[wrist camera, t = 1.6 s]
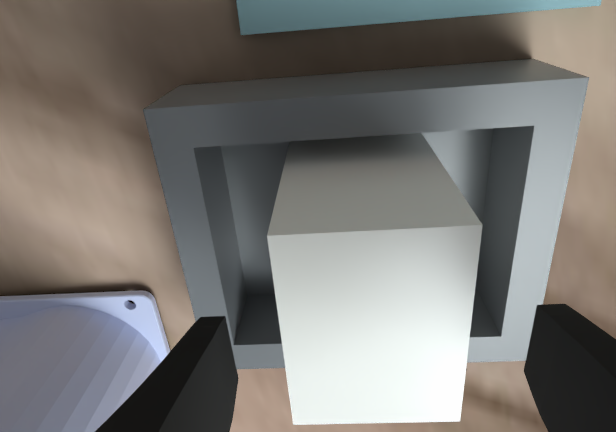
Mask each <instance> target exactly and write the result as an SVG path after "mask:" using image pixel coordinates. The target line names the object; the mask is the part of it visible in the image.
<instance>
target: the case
mask: <svg viewBox="0 0 616 432" xmlns="http://www.w3.org/2000/svg"><path fill="white" fill-rule="evenodd" d="M588 81H589V77H586V76H583V75H580V74H577V73H574V72H571V71H568V70H565V69H562V68H559V67H556V66H553V65H550V64H547V63H544V62H541V61H538V60H535V59H523V60H510V61H497V62H483V63H470V64H457V65H443V66H430V67H417V68H404V69H390V70H377V71H364V72H350V73H337V74H324V75H311V76H297V77H284V78H271V79H257V80H244V81H231V82H218V83H204V84H191V85H180V86H178V87H177V88H175V89H174V90H172V91H170V92H169V93H167V94H166V95H164V96H163V97H161V98H160V99H158V100H157V101H155V102H154V103H152V104H150V105H149V106H147V107H146V108H144V109H143V112H144V116H145V120H146V124H147V128H148V132H149V136H150V140H151V144H152V148H153V152H154V156H155V160H156V164H157V168H158V172H159V176H160V180H161V184H162V188H163V192H164V196H165V200H166V204H167V208H168V212H169V216H170V220H171V224H172V228H173V232H174V236H175V240H176V244H177V248H178V252H179V256H180V260H181V264H182V268H183V272H184V276H185V280H186V284H187V288H188V292H189V296H190V300H191V304H192V308H193V312H194V316H195V320H196V321H197V320H198V319H199V318H200V317H209V316H225V317H226V322H227V327H228V331H229V336H230V341H231V346H232V350H233V355H234V360H235V365H236V369H259V368H285V361H284V354H283V347H282V340H281V333H280V326H279V318H278V311H277V304H276V297H275V290H274V283H273V275H272V268H271V261H270V254H269V247H268V240H267V234H268V230H269V225H270V221H271V217H272V213H273V209H274V205H275V201H276V197H277V192H278V188H279V184H280V180H281V176H282V172H283V168H284V164H285V159H286V155H287V151H288V147H289V143H290V141H306V140H321V139H337V138H352V137H367V136H383V135H398V134H413V133H422V134H423V136H424V138H425V139H426V141H427V142H428V144H429V145H430V147H431V148H432V150H433V151H434V153H435V154H436V156H437V157H438V159H439V160H440V162H441V163H442V165H443V166H444V168H445V169H446V171H447V172H448V174H449V175H450V177H451V178H452V180H453V181H454V183H455V184H456V186H457V187H458V189H459V190H460V192H461V193H462V195H463V196H464V198H465V199H466V201H467V202H468V204H469V205H470V207H471V208H472V210H473V211H474V213H475V214H476V216H477V217H478V219H479V220H480V222H481V223H482V225H483V226H482V235H481V243H480V252H479V261H478V269H477V278H476V287H475V295H474V304H473V313H472V321H471V330H470V339H469V347H468V356H467V362H499V361H526V357H527V352H528V347H529V342H530V337H531V332H532V327H533V322H534V317H535V312H536V307H537V305H543V300H544V295H545V290H546V285H547V280H548V276H549V271H550V266H551V261H552V256H553V251H554V246H555V241H556V237H557V232H558V227H559V222H560V217H561V212H562V207H563V202H564V198H565V193H566V188H567V183H568V178H569V173H570V168H571V163H572V159H573V154H574V149H575V144H576V139H577V134H578V129H579V124H580V120H581V115H582V110H583V105H584V100H585V95H586V90H587V85H588Z"/></svg>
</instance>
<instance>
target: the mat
mask: <svg viewBox="0 0 616 432" xmlns="http://www.w3.org/2000/svg"><path fill="white" fill-rule="evenodd" d="M236 3H237V10H238V17H239V24H240V32H241V35H248V34H260V33H273V32H285V31H297V30H309V29H321V28H333V27H345V26H357V25H370V24H382V23H394V22H406V21H418V20H430V19H442V18H454V17H466V16H479V15H491V14H503V13H515V12H527V11H539V10H551V9H563V8H576V7H588V6H600V5H601V0H236Z"/></svg>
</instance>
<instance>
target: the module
mask: <svg viewBox="0 0 616 432" xmlns="http://www.w3.org/2000/svg"><path fill="white" fill-rule="evenodd" d="M482 226H483V225H482V223H481V222H480V220H479V219H478V217H477V216H476V214H475V213H474V211H473V210H472V208H471V207H470V205H469V204H468V202H467V201H466V199H465V198H464V196H463V195H462V193H461V192H460V190H459V189H458V187H457V186H456V184H455V183H454V181H453V180H452V178H451V177H450V175H449V174H448V172H447V171H446V169H445V168H444V166H443V165H442V163H441V162H440V160H439V159H438V157H437V156H436V154H435V153H434V151H433V150H432V148H431V147H430V145H429V144H428V142H427V141H426V139H425V138H424V136H423V134H422V133H413V134H398V135H383V136H367V137H352V138H337V139H321V140H306V141H290V143H289V147H288V151H287V155H286V159H285V164H284V168H283V172H282V176H281V180H280V184H279V188H278V192H277V197H276V201H275V205H274V209H273V213H272V217H271V221H270V225H269V230H268V234H267V240H268V247H269V254H270V261H271V268H272V275H273V283H274V290H275V297H276V304H277V311H278V318H279V326H280V333H281V340H282V347H283V354H284V361H285V369H286V376H287V383H288V390H289V397H290V405H291V412H292V419H293V425H305V424H355V423H405V422H454V421H460V416H461V408H462V399H463V390H464V382H465V373H466V365H467V356H468V347H469V339H470V330H471V321H472V313H473V304H474V295H475V287H476V278H477V269H478V261H479V252H480V243H481V235H482Z"/></svg>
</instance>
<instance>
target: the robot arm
mask: <svg viewBox="0 0 616 432" xmlns="http://www.w3.org/2000/svg"><path fill="white" fill-rule="evenodd" d="M128 300H131V301H133V302H134V303H135V304H132V303H130V302H129V301H128ZM524 373H525V375H526V378H527V381H528V384H529V387H530V390H531V392H532V395H533V398H534V400H535V403H536V406H537V408H538V411H539V413H540V416H541V418H542V420H543V422H544V424H545V426H546V428H547V430H548V432H616V339H614V338H613V337H612V336H610V335H609V334H607V333H606V332H605V331H603V330H602V329H600V328H599V327H598V326H596V325H595V324H593V323H592V322H591V321H589V320H588V319H586V318H585V317H584V316H582V315H581V314H579V313H578V312H576V311H575V310H573V309H572V308H570V307H569V306H567V305H566V304H548V305H537V307H536V312H535V317H534V322H533V327H532V332H531V337H530V342H529V347H528V352H527V357H526V363H525V368H524ZM237 384H238V374H237V369H236V365H235V360H234V355H233V350H232V346H231V341H230V336H229V331H228V327H227V322H226V317H225V316H209V317H200V318H199V319H198V320H197V321H196V322H195V323H194V324H193V326H192V327H191V328H190V329H189V330H188V331H187V333H186V334H185V335H184V336H183V337H182V338H181V340H180V341H179V342H178V343H177V344H176V346H175V347H174V348H173V349H172V350H171V351H170V348H169V345H168V342H167V338H166V335H165V331H164V328H163V325H162V321H161V318H160V314H159V311H158V308H157V304H156V301H155V298H154V296H153V295H152V294H151V293H149V292H147V291H142V290H140V291H116V292H92V293H69V294H45V295H22V296H0V432H229V431H230V427H231V423H232V418H233V412H234V405H235V399H236V391H237Z"/></svg>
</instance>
